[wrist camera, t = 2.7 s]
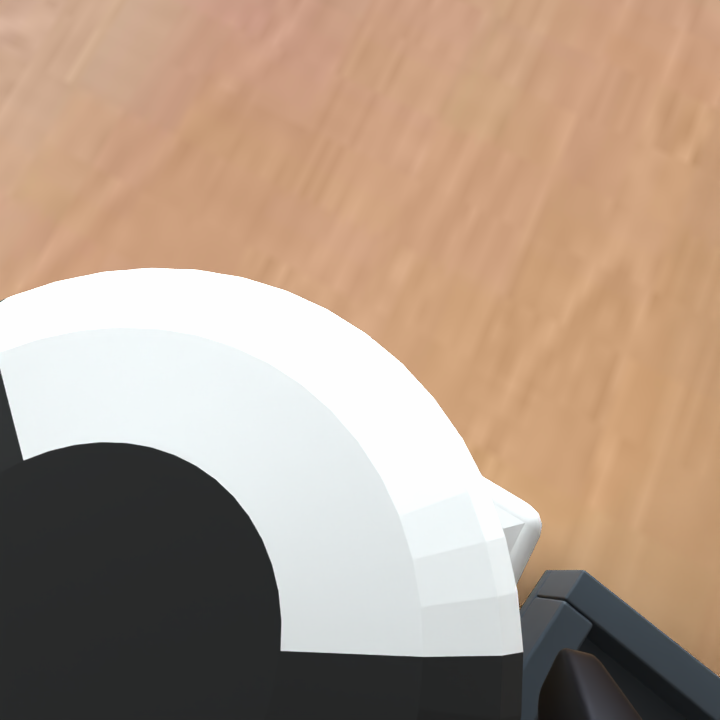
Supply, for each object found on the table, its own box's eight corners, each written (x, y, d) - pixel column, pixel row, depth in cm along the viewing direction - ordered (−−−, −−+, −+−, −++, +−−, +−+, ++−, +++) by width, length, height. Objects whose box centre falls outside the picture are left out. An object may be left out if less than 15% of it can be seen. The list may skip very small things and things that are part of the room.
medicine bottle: (314, 819, 13) (205, 2156, 2) (67, 640, 14) (-901, 892, 3) (461, 538, 16) (794, 453, 4) (237, 399, 17) (31, 37, 5)
